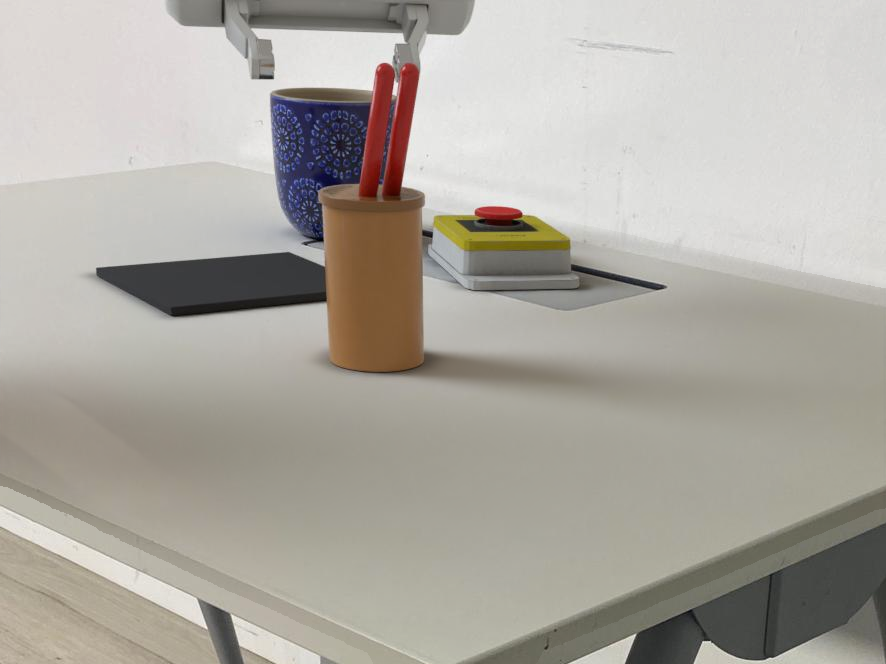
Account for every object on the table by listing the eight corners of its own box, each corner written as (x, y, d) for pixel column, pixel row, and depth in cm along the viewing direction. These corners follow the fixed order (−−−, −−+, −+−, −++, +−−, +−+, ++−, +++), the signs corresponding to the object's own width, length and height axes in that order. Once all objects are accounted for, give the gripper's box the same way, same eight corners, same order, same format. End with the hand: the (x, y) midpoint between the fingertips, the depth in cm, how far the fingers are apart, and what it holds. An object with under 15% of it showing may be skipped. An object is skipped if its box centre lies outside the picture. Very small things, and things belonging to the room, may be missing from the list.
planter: (255, 227, 127) (245, 88, 121) (361, 219, 133) (356, 86, 127) (318, 250, 120) (310, 103, 114) (426, 240, 126) (425, 100, 120)
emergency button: (531, 196, 122) (585, 229, 110) (529, 250, 125) (582, 288, 113) (424, 196, 120) (468, 230, 108) (425, 251, 122) (468, 290, 110)
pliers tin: (362, 380, 87) (351, 63, 78) (308, 353, 92) (291, 51, 83) (451, 368, 91) (450, 63, 82) (394, 342, 95) (388, 51, 86)
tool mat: (171, 316, 98) (170, 307, 98) (96, 275, 108) (95, 267, 107) (375, 294, 107) (375, 286, 107) (289, 259, 116) (289, 251, 116)
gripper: (141, -156, 89) (169, 33, 87) (460, -134, 95) (496, 43, 93) (145, -74, 95) (172, 106, 93) (446, -58, 101) (479, 111, 99)
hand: (336, 75), depth 93 cm, fingers open, 8 cm apart
